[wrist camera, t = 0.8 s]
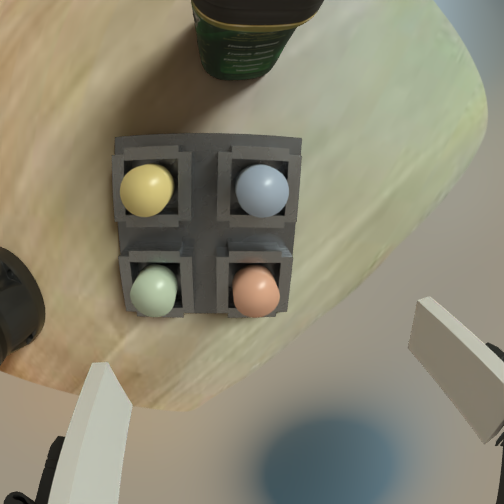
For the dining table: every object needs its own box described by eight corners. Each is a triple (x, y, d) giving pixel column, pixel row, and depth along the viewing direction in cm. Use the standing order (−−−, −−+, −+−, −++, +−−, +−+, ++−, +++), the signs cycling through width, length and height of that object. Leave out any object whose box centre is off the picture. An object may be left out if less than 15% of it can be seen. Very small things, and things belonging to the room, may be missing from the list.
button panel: (131, 307, 34) (123, 324, 30) (118, 137, 27) (105, 136, 23) (284, 307, 36) (291, 324, 32) (299, 138, 29) (310, 137, 25)
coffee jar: (279, 80, 26) (358, 10, 9) (202, 85, 26) (181, 7, 9) (270, 4, 23) (323, -100, 6) (196, 8, 22) (181, -104, 5)
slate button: (233, 209, 28) (235, 217, 25) (235, 162, 26) (237, 165, 23) (279, 210, 28) (287, 218, 25) (282, 164, 27) (290, 167, 24)
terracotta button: (231, 302, 31) (233, 318, 28) (232, 264, 30) (234, 277, 27) (272, 301, 32) (277, 316, 29) (275, 264, 30) (281, 277, 27)
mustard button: (130, 209, 26) (121, 217, 24) (129, 164, 25) (119, 166, 22) (174, 209, 27) (169, 216, 24) (174, 162, 25) (169, 164, 23)
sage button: (139, 301, 30) (133, 316, 27) (135, 263, 28) (127, 276, 26) (179, 302, 30) (176, 317, 28) (176, 264, 29) (172, 277, 26)
